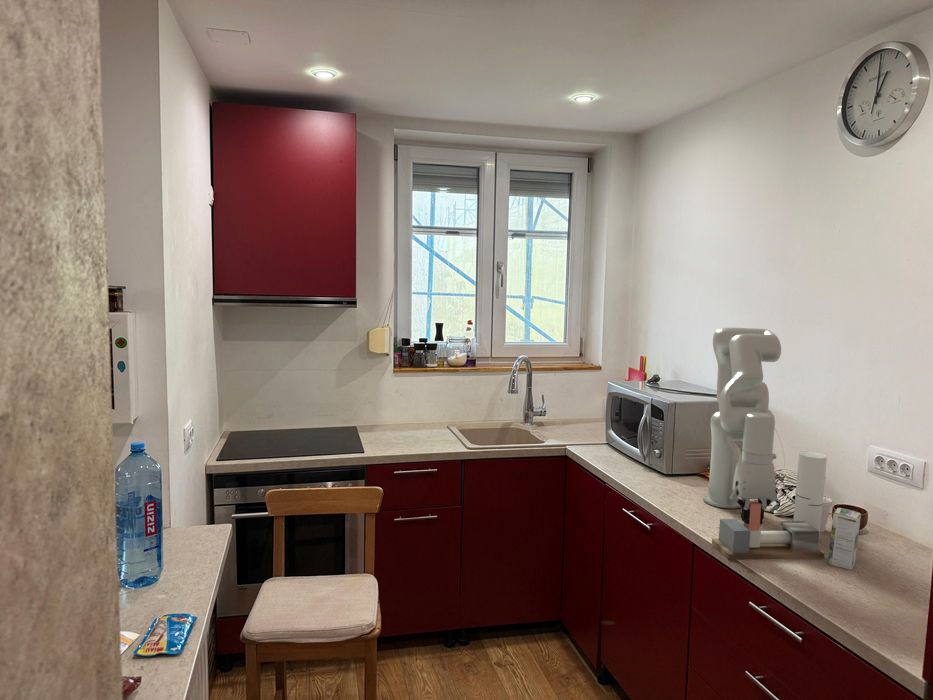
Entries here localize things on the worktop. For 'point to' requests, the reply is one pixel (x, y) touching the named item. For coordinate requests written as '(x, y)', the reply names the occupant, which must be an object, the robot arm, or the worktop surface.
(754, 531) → the slide bolt
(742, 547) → the socket
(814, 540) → the roller board
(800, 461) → the cylindrical container
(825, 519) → the smoothie
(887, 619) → the worktop surface
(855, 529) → the syrup box
